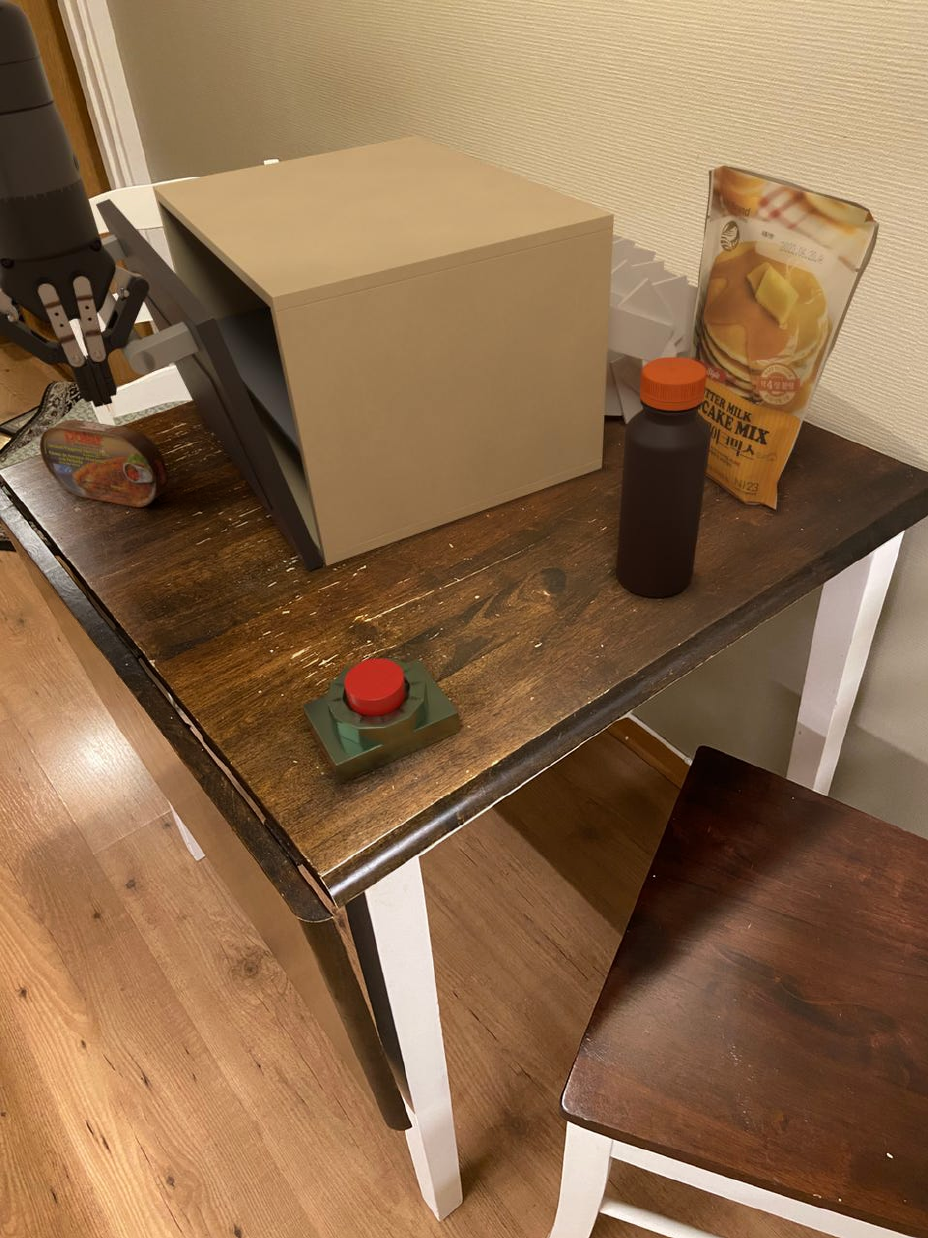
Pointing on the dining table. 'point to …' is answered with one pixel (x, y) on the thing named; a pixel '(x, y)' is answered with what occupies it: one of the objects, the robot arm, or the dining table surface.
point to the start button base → (380, 724)
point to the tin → (104, 462)
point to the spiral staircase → (643, 322)
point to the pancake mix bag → (769, 316)
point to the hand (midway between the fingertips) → (101, 401)
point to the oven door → (203, 374)
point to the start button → (375, 687)
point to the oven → (404, 329)
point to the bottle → (663, 479)
